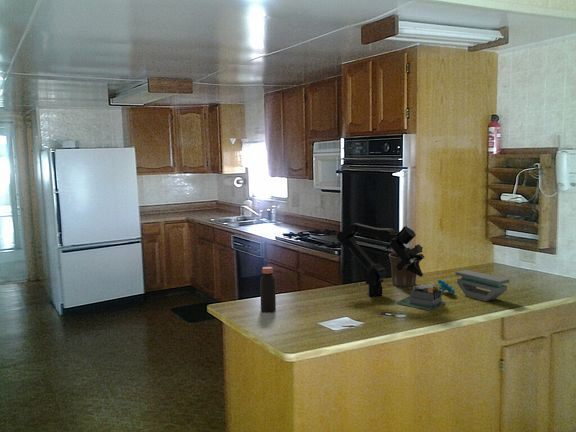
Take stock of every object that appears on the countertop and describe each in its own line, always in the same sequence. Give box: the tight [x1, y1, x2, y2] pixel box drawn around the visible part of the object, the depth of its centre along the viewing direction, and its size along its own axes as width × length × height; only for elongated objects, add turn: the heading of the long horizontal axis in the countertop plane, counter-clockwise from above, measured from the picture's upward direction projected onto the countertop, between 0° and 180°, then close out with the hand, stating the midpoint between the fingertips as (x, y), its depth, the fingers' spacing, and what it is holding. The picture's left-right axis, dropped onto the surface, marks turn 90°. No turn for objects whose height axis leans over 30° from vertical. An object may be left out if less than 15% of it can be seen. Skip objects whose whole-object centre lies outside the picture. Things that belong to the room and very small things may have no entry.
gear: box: [437, 279, 456, 295], centre depth 268 cm, size 11×6×10 cm
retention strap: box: [415, 283, 437, 289], centre depth 249 cm, size 10×3×1 cm, turn 50°
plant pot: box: [388, 252, 417, 288], centre depth 287 cm, size 16×16×16 cm
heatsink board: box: [396, 283, 446, 311], centre depth 251 cm, size 18×14×9 cm
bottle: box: [259, 266, 277, 313], centre depth 243 cm, size 7×7×20 cm
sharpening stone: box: [454, 269, 510, 302], centre depth 260 cm, size 25×8×11 cm, turn 32°
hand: (422, 276), depth 250 cm, fingers closed
